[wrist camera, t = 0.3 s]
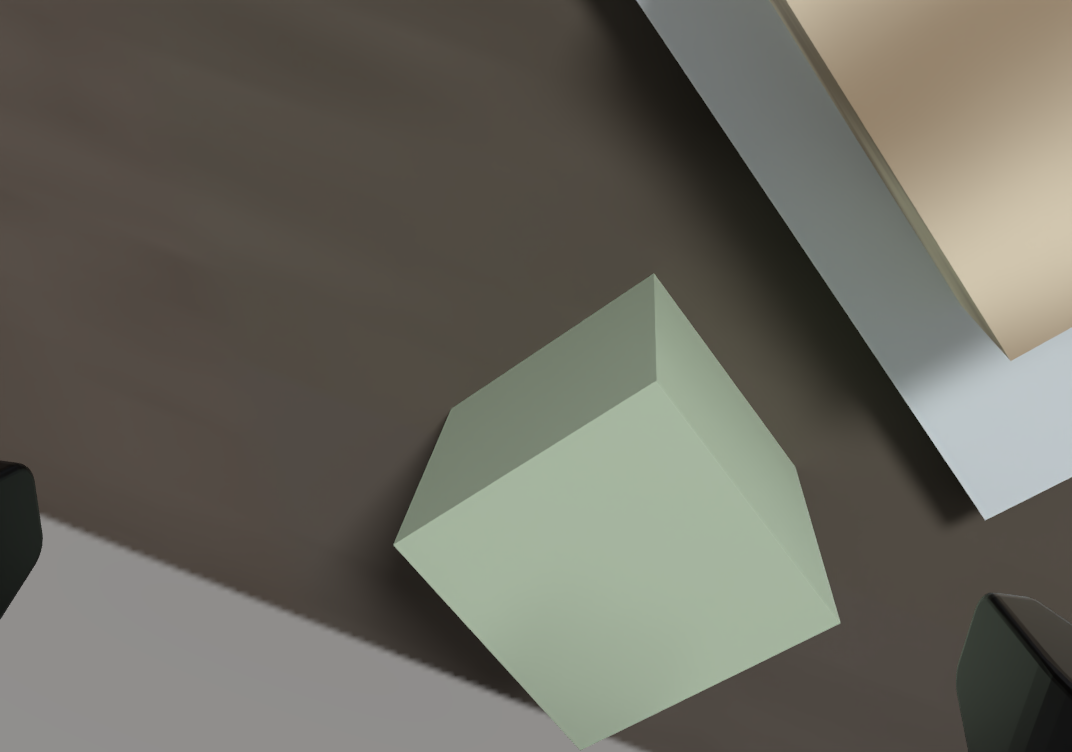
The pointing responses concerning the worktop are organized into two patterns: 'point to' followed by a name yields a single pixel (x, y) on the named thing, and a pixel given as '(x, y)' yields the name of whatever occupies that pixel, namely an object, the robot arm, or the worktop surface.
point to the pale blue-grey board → (875, 255)
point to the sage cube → (618, 522)
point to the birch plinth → (964, 140)
